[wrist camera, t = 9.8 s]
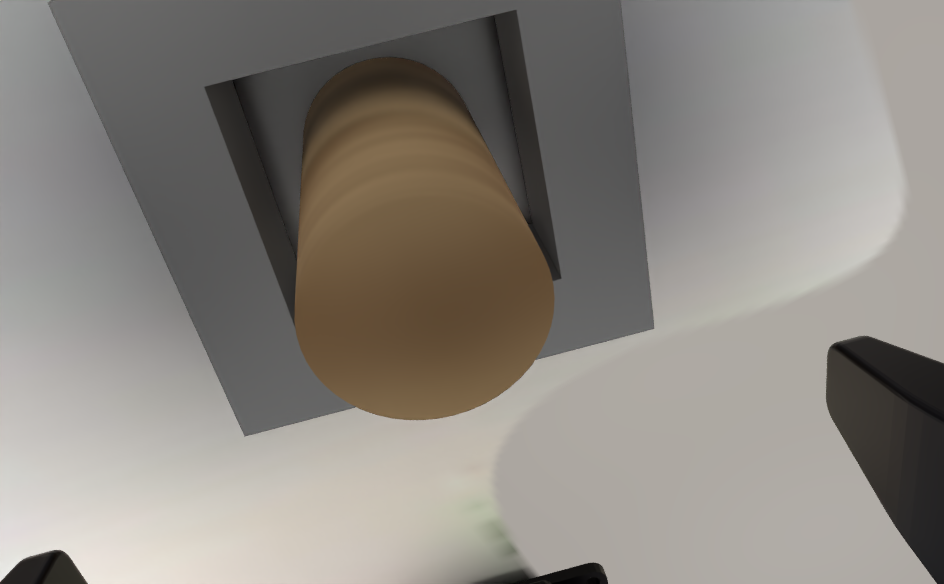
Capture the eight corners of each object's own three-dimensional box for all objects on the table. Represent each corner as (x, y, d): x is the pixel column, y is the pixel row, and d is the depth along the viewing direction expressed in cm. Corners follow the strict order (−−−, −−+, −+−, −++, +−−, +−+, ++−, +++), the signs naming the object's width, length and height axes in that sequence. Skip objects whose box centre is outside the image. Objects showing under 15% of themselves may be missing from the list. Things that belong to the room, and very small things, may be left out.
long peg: (486, 197, 21) (570, 384, 14) (331, 237, 20) (336, 445, 14) (454, 38, 19) (533, 165, 12) (280, 81, 18) (257, 234, 12)
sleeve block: (615, 269, 22) (654, 328, 20) (253, 364, 22) (244, 436, 19) (563, -140, 17) (606, -133, 15) (89, -25, 17) (47, 3, 14)
